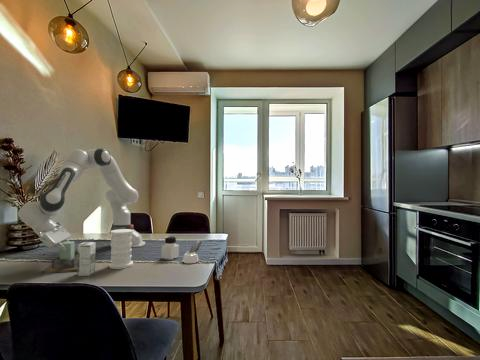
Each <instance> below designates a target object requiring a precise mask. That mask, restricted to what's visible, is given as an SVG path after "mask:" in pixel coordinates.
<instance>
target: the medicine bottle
mask: <svg viewBox="0 0 480 360" xmlns="http://www.w3.org/2000/svg"><path fill="white" fill-rule="evenodd" d="M176 242H177V237H175V236H172V235H171V236H166V237H164V245H161V256H160V257H161V259H164V260H170V261H172V260H174V258H175V259H177V258H179V256H180V244H177V243H176Z"/></svg>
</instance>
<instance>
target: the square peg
mask: <svg viewBox="0 0 480 360" xmlns="http://www.w3.org/2000/svg"><path fill="white" fill-rule="evenodd" d="M75 243H76V242H75V241H74V240H72V241H70V240H69V241H68V242H62V245H64V246H66V247H67V248H68V249H67V250H66V251H63V250H62V249H59V256H60V259H73V258H74V255H75V249H76V247H75Z"/></svg>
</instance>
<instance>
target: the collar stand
mask: <svg viewBox="0 0 480 360" xmlns="http://www.w3.org/2000/svg"><path fill="white" fill-rule="evenodd" d="M77 263H78V254H74V258H73V259H60V255H58V256H57V257H55V258H54V259H51V265H49V266H47V267H46V268H44V269H42V270H41V274H46V273H51V274H52V273H67V272H71V273H72V272H77Z"/></svg>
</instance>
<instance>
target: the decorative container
mask: <svg viewBox="0 0 480 360" xmlns="http://www.w3.org/2000/svg"><path fill="white" fill-rule="evenodd" d="M109 233H110V235H111V237H110V242H111V241H112V244H111V243H110V244H111V246H110V254H111V256H110V260H111V262H109V264H108V267H109V268H110V269H113V270H114V269H115V270H121V269H127V268H131V267H133V266H134V261H133V260H132V258H133V255H132V253H133V249H132V247H131V246H132V243H131V240H132V236H131V234H132V233H133V230H131V229H117V230H112V229H111V230H110V231H109Z"/></svg>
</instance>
